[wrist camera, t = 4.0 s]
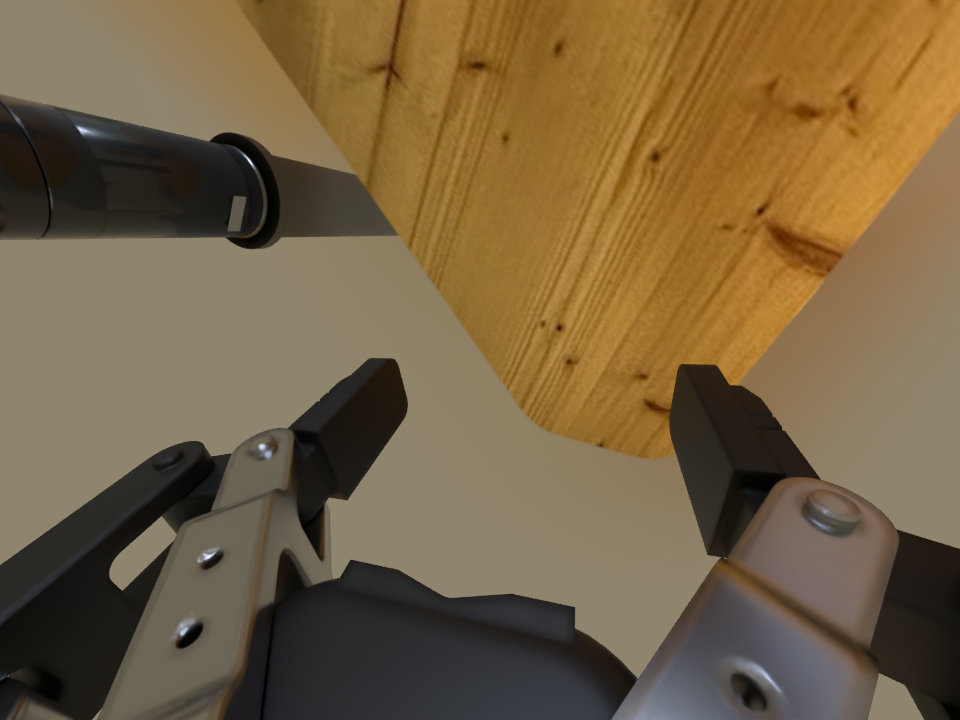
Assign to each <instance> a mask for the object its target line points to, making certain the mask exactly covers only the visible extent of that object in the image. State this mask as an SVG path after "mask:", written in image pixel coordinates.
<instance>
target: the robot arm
mask: <svg viewBox="0 0 960 720" xmlns="http://www.w3.org/2000/svg"><path fill="white" fill-rule="evenodd" d="M270 207H271V202H270V193H269V189H268V185H267V182H266V179H265V177H264V174H263V172H262V170H261V169H260V167H259V165H258V164H257V163H256V161H255V160H254V159H253V158H252V157H251V156H250V155H249V154H248V153H247V152H245V151H244V150H242V149H240V148H238V147H235V146H231V145H226V144H217V143H213V142H208V141H204V140H200V139H196V138H192V137H187V136H183V135H178V134H174V133H170V132H165V131H161V130H157V129H152V128H148V127H144V126H139V125H135V124H131V123H126V122H122V121H118V120H113V119H109V118H104V117H100V116H96V115H92V114H87V113H83V112H78V111H74V110H69V109H65V108H61V107H56V106H52V105H48V104H42V103H38V102H34V101H29V100H25V99H20V98H16V97H12V96H7V95H3V94H0V240H34V239H36V240H46V239H47V240H48V239H51V240H52V239H114V238H115V239H118V238H194V237H195V238H197V237H198V238H200V237H236V238H252V237H255V236H257V235H259V234H260V233H261V232H262V231H263V230H264V228H265V227H266V225H267V222H268V220H269V216H270ZM407 408H408V402H407V396H406V393H405V389H404V385H403V381H402V378H401V374H400V370H399V366H398V364H397V362H396V361H395V360H394V359H390V358H389V359H388V358H370V359H368V360H367V361H366V362H365V363H364V364H363V365H362V366H360V367H359V368H358V369H357V370H356V371H355V372H354V373H353V374H352V375H350V376H348V377H347V378H345V379H343V380H341V381H340V382H339V383H337V384H336V385H335V386H334V387H333V388H332V389H331V390H330V391H329V393H326V394H325V395H324V396H323V397H322V398H321V399H320V402H319V401H318V402H316V403H315V404H314V405H313V406H312V407H311V408H310V409H309V410H307V411H306V412H305V413H304V414H303V415H302V416H301V417H300V418H298V420H296V421H295V422H294V423H293V424H292V425H291V426H290V427H289V428H287V429H286V428H276V429H271V430H267V431H264V432H261V433H259V434H256V435H254V436H253V437H251V438H249V439H247V440H246V441H244V442H243V443H242V444H240V445H239V446H238V447H237V448H236V449H235V450H234V451H233V453H232V454H225V455H219V456H212V457H211V456H210V454H209V452H208V451H207V449H206V448H205V446H204V445H203V443H201V442H198V441H189V442H184V443H180V444H177V445H174V446H171V447H169V448H167V449H164V450H162V451H160V452H159V453H157V454H155V455H153V456H152V457H150V458H149V459H147V460H146V461H145V462H143V463H142V464H140V465H139V466H138V467H136V468H135V469H133V470H132V471H131V472H129V473H128V474H127V475H125V476H124V477H122V478H121V479H120V480H118V481H117V482H115V483H114V484H113V485H111V486H110V487H108V488H107V489H106V490H104V491H103V492H101V493H100V494H99V495H98V496H96V497H94V498H93V499H92V500H90V501H89V502H88V503H86V504H85V505H83V506H82V507H81V508H79V509H78V510H76V511H75V512H74V513H72V514H71V515H69V516H68V517H67V518H65V519H64V520H63V521H61V522H60V523H58V524H57V525H56V526H54V527H53V528H51V529H50V530H49V531H47V532H46V533H44V534H43V535H42V536H40V537H39V538H37V539H36V540H35V541H33V542H32V543H30V544H29V545H28V546H26V547H25V548H24V549H22V550H21V551H19V552H18V553H17V554H15V555H14V556H12V557H11V558H10V559H8V560H7V561H5V562H4V563H3V564H1V565H0V720H92V719H93V718H94V717H95V715H96V714H97V713H98V712H99V711H100V710H101V708H102V710H101V712H100V714H99V717H98V719H97V720H868V716H869V712H870V708H871V704H872V700H873V696H874V692H875V688H876V684H877V680H878V674H879V673H880V674H883V675H885V676H887V677H889V678H891V679H893V680H895V681H898V682H900V683H902V684H904V685H905V686H906V688H907V689H908V691H909V693H910V695H911V696H912V698H913V700H914V702H915V704H916V705H917V707H918V709H919V711H920V713H921V715H922V716H923V718H924V720H960V549H958V548H955V547H951V546H948V545H945V544H942V543H938V542H935V541H932V540H929V539H925V538H922V537H919V536H915V535H913V534H909V533H906V532H903V531H900V530H897V529H895V527H894V525H893V524H892V522H891V521H890V520H889V518H888V517H887V516H885V514H884V513H883V512H882V511H881V510H879V509H878V508H877V507H876V506H874V505H873V504H872V503H870V502H869V501H867V500H866V499H864V498H863V497H861V496H859V495H857V494H856V493H854V492H852V491H850V490H847V489H845V488H843V487H840V486H838V485H835V484H833V483H829V482H826V481H823V480H821V479H820V478H819V476H818V475H817V474H816V472H815V471H814V469H813V468H812V467H811V466H810V464H809V463H808V461H807V460H806V459H805V457H804V456H803V455H802V453H801V452H800V451H799V449H798V448H797V447H796V445H795V444H794V442H793V441H792V440H791V438H790V437H789V436H788V434H787V433H786V432H785V431H782V426H781V425H780V424H779V422H778V421H777V420H776V418H775V417H773V416H772V413H771V411H770V410H769V409H768V407H767V406H766V405H765V404H764V402H763V401H762V399H761V398H759V397H758V396H756V395H754V394H753V393H751V392H750V391H749V390H747V389H746V388H744V387H743V386H735V385H729V384H728V382H727V380H726V379H725V377H724V376H723V374H722V373H721V371H720V370H719V368H718V367H717V366H716V365H697V364H681V365H680V366H679V368H678V371H677V377H676V382H675V388H674V394H673V399H672V405H671V411H670V420H669V425H670V435H671V439H672V442H673V446H674V449H675V452H676V455H677V458H678V462H679V465H680V468H681V471H682V474H683V477H684V481H685V484H686V487H687V491H688V494H689V497H690V500H691V503H692V506H693V510H694V513H695V516H696V519H697V522H698V526H699V529H700V532H701V535H702V539H703V542H704V545H705V548H706V552H707V555H711V556H718V557H722V558H720V559H719V560H718V561H717V563H716V564H715V565H714V566H713V568H712V570H711V571H710V572H709V574H708V575H707V577H706V578H705V580H704V581H703V583H702V584H701V586H700V587H699V589H698V590H697V592H696V593H695V595H694V596H693V598H692V599H691V601H690V602H689V604H688V605H687V607H686V608H685V610H684V611H683V613H682V614H681V616H680V617H679V619H678V620H677V622H676V623H675V625H674V626H673V628H672V629H671V631H670V632H669V634H668V635H667V637H666V638H665V640H664V641H663V643H662V644H661V646H660V647H659V649H658V650H657V652H656V653H655V655H654V656H653V658H652V659H651V661H650V662H649V664H648V665H647V667H646V668H645V670H644V671H643V673H642V674H641V676H640V677H639V679H637V677H636V676H635V675H634V674H633V673H632V672H631V671H630V670H629V669H628V668H627V667H626V666H625V665H624V664H623V663H622V661H621V660H619V659H618V658H617V657H616V656H615V655H614V654H613V653H611V652H610V651H609V650H608V649H607V648H605V647H604V646H603V645H601V644H600V643H599V642H597V641H596V640H594V639H593V638H591V637H590V636H589V635H587V634H585V633H583V632H581V631H579V630H577V629H575V607H571V606H567V605H562V604H556V603H552V602H548V601H543V600H538V599H533V598H529V597H524V596H519V595H515V594H503V595H488V596H474V597H461V598H460V597H459V598H448V597H444V596H442V595H440V594H438V593H437V592H435V591H433V590H432V589H430V588H428V587H427V586H425V585H423V584H421V583H420V582H418V581H416V580H415V579H413V578H411V577H410V576H408V575H406V574H404V573H403V572H401V571H399V570H396V569H392V568H387V567H382V566H378V565H373V564H368V563H363V562H359V561H354V560H350V562H349V563H348V565H347V567H346V568H345V570H344V572H343V574H342V575H341V577H340V578H337V579H333V578H332V571H331V534H330V509H329V507H328V505H327V503H326V501H327V499H328V498H329V497H330V498H336V499H343V500H348V499H349V497H350V496H351V494H352V493H353V491H354V490H355V488H356V487H357V486H358V484H359V482H360V481H361V480H362V478H363V477H364V476H365V474H366V473H367V471H368V470H369V468H370V467H371V466H372V464H373V463H374V461H375V460H376V458H377V457H378V456H379V454H380V453H381V451H382V450H383V448H384V447H385V446H386V444H387V443H388V441H389V440H390V438H391V437H392V436H393V434H394V433H395V431H396V430H397V428H398V427H399V425H400V424H401V423H402V421H403V420H404V418H405V416H406V413H407ZM161 516H162V517H163V518H164V519H165V521H166V522H167V523H168V524H169V526H170V527H171V528H172V529H173V530H174V532H175V533H176V534H177V536H176V538H175V540H174V541H173V542H172V543H171V544H170V545H169V546H168V547H167V548H166V549H165V550H164V551H163V552H162V553H161V554H160V555H159V556H158V557H157V558H156V559H155V560H154V561H153V562H152V563H151V564H150V565H149V566H148V567H147V568H146V569H144V570H143V572H141V573H140V574H139V575H138V577H136V578H135V579H134V580H133V581H132V582H131V583H130V584H129V585H128V587H126V588H125V589H124V590H123V591H122V590H121V589H119V588H118V587H117V586H116V585H115V584H114V583H113V582H112V581H111V580H110V577H109V570H110V567H111V564H112V562H113V561H114V559H115V558H116V556H117V555H118V554H119V553H120V552H121V551H122V550H124V549H125V548H126V547H127V546H128V545H129V544H130V543H131V542H132V541H134V540H135V539H136V538H137V537H138V536H139V535H140V534H142V533H143V532H144V531H145V530H146V529H147V528H148V527H149V526H151V525H152V524H153V523H154V522H155V521H156V520H157V519H158V518H160V517H161ZM723 557H725V558H727V559H724V558H723ZM8 675H9V677H7V676H8Z"/></svg>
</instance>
